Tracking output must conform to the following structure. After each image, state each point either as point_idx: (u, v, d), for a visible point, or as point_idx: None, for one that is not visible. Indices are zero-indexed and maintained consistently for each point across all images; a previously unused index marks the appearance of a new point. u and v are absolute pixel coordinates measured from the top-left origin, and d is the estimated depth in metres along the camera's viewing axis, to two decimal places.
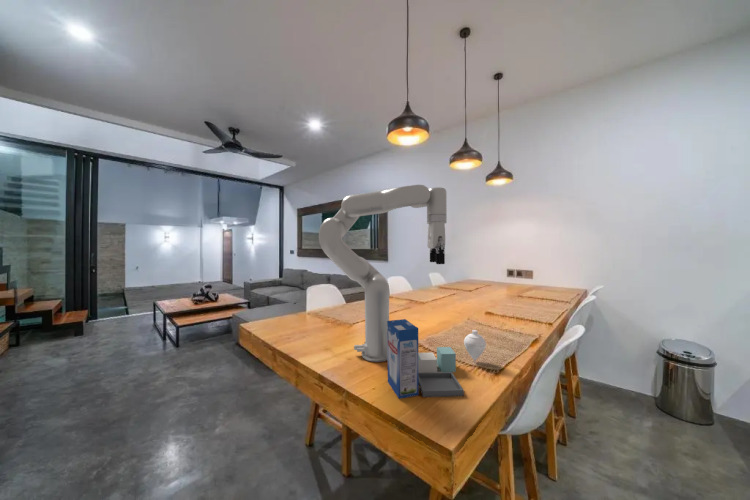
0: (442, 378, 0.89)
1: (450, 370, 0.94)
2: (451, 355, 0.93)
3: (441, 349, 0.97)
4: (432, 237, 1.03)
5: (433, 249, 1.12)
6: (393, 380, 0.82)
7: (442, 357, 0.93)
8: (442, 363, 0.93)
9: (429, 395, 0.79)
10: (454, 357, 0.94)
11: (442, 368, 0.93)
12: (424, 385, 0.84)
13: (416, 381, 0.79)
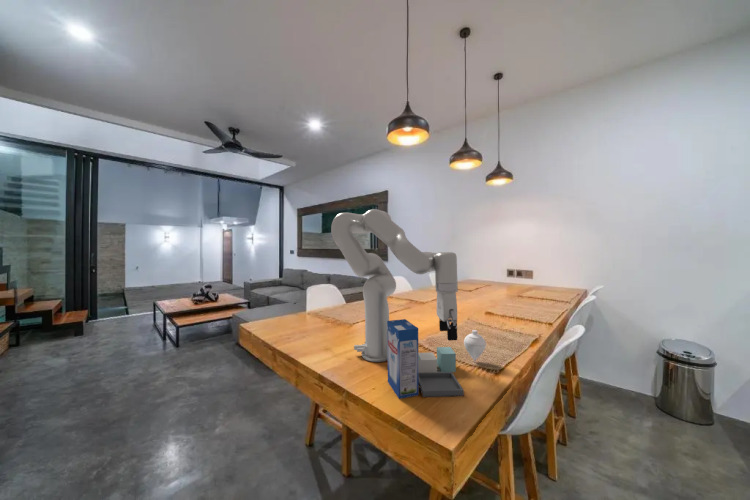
0: (442, 378, 0.89)
1: (450, 370, 0.94)
2: (451, 355, 0.93)
3: (441, 349, 0.97)
4: (442, 309, 0.92)
5: None
6: (393, 380, 0.82)
7: (442, 357, 0.93)
8: (442, 363, 0.93)
9: (429, 395, 0.79)
10: (454, 357, 0.94)
11: (442, 368, 0.93)
12: (424, 385, 0.84)
13: (416, 381, 0.79)
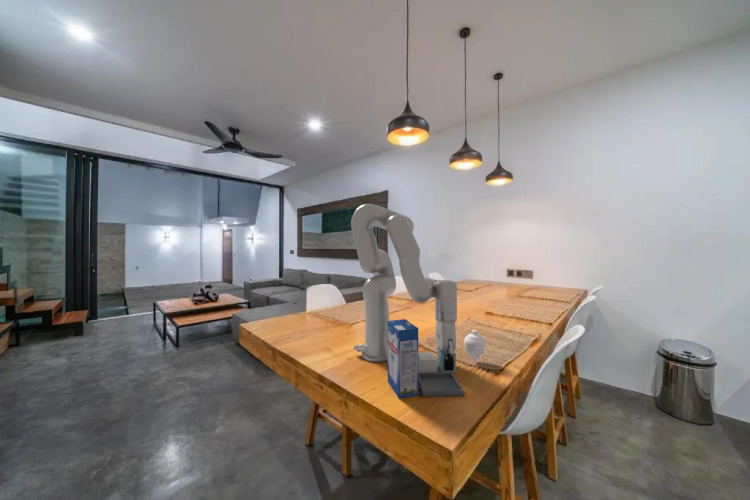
0: (442, 378, 0.89)
1: (450, 370, 0.94)
2: None
3: None
4: (441, 338, 0.92)
5: None
6: (393, 380, 0.82)
7: (442, 357, 0.93)
8: (442, 363, 0.93)
9: (429, 395, 0.79)
10: (454, 357, 0.94)
11: (442, 368, 0.93)
12: (424, 385, 0.84)
13: (416, 381, 0.79)
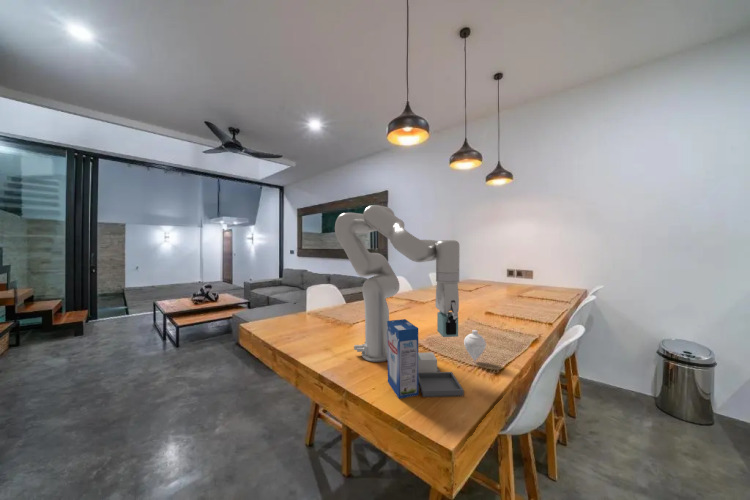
0: (442, 378, 0.89)
1: None
2: None
3: (442, 313, 0.91)
4: (443, 300, 0.86)
5: None
6: (393, 380, 0.82)
7: (444, 320, 0.87)
8: (444, 327, 0.87)
9: (429, 395, 0.79)
10: None
11: (444, 332, 0.87)
12: (424, 385, 0.84)
13: (416, 381, 0.79)
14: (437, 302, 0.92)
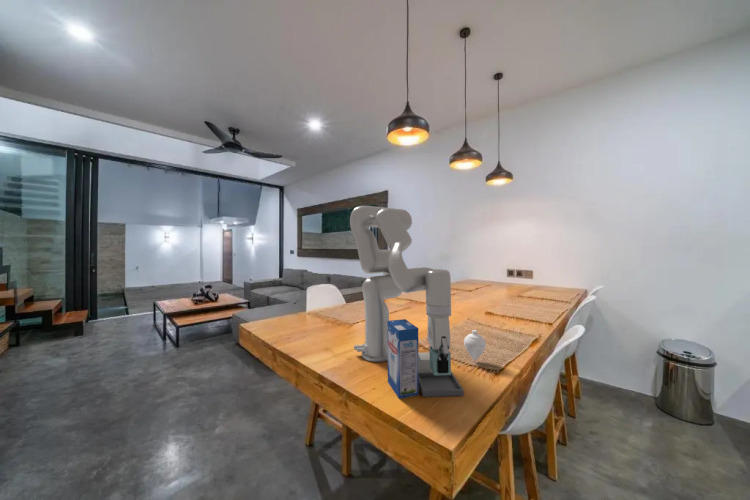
0: (442, 378, 0.89)
1: None
2: None
3: None
4: (433, 336, 0.80)
5: None
6: (393, 380, 0.82)
7: (435, 357, 0.81)
8: (435, 364, 0.81)
9: (429, 395, 0.79)
10: (449, 357, 0.81)
11: (435, 370, 0.81)
12: (424, 385, 0.84)
13: (416, 381, 0.79)
14: (428, 336, 0.85)
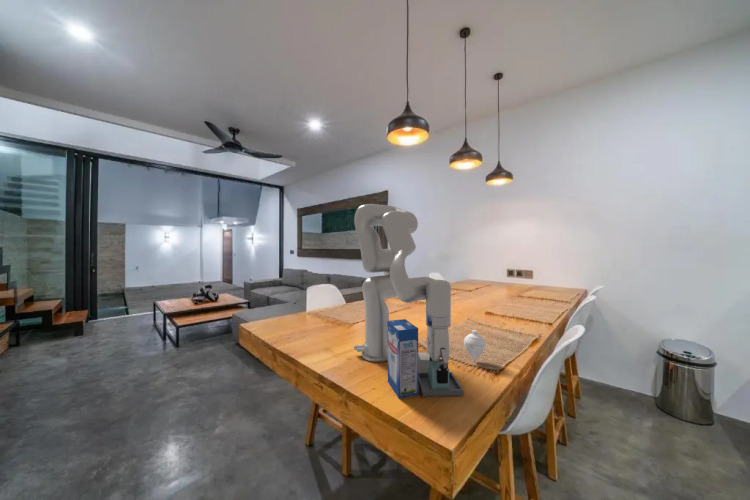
0: None
1: (443, 388, 0.81)
2: None
3: (433, 363, 0.85)
4: (432, 347, 0.80)
5: None
6: (393, 380, 0.82)
7: (434, 373, 0.81)
8: (434, 380, 0.81)
9: (429, 395, 0.79)
10: None
11: (434, 386, 0.81)
12: (424, 385, 0.84)
13: (416, 381, 0.79)
14: (427, 346, 0.86)
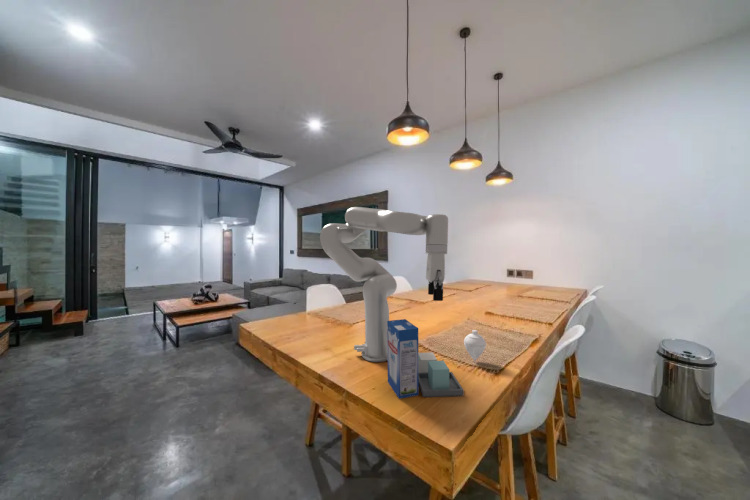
0: None
1: (443, 388, 0.81)
2: (444, 371, 0.81)
3: (433, 363, 0.85)
4: (430, 270, 0.93)
5: (432, 280, 1.02)
6: (393, 380, 0.82)
7: (434, 373, 0.81)
8: (434, 380, 0.81)
9: (429, 395, 0.79)
10: (447, 373, 0.81)
11: (434, 386, 0.81)
12: (424, 385, 0.84)
13: (416, 381, 0.79)
14: (426, 273, 0.98)
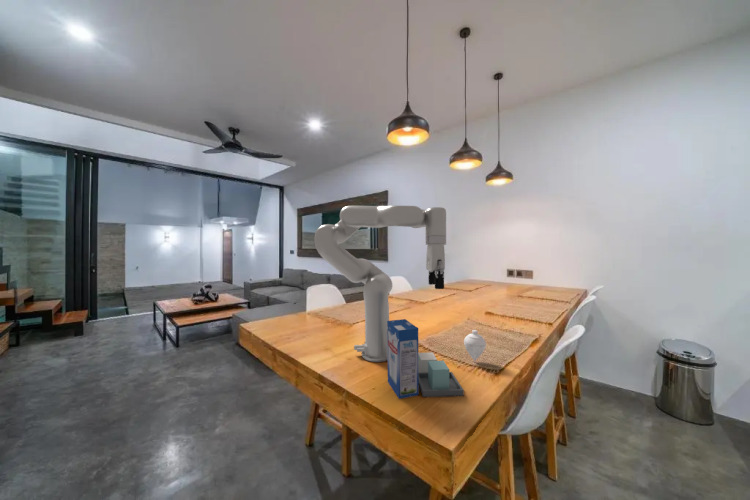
0: None
1: (443, 388, 0.81)
2: (444, 371, 0.81)
3: (433, 363, 0.85)
4: (431, 260, 0.97)
5: None
6: (393, 380, 0.82)
7: (434, 373, 0.81)
8: (434, 380, 0.81)
9: (429, 395, 0.79)
10: (447, 373, 0.81)
11: (434, 386, 0.81)
12: (424, 385, 0.84)
13: (416, 381, 0.79)
14: (427, 264, 1.03)
